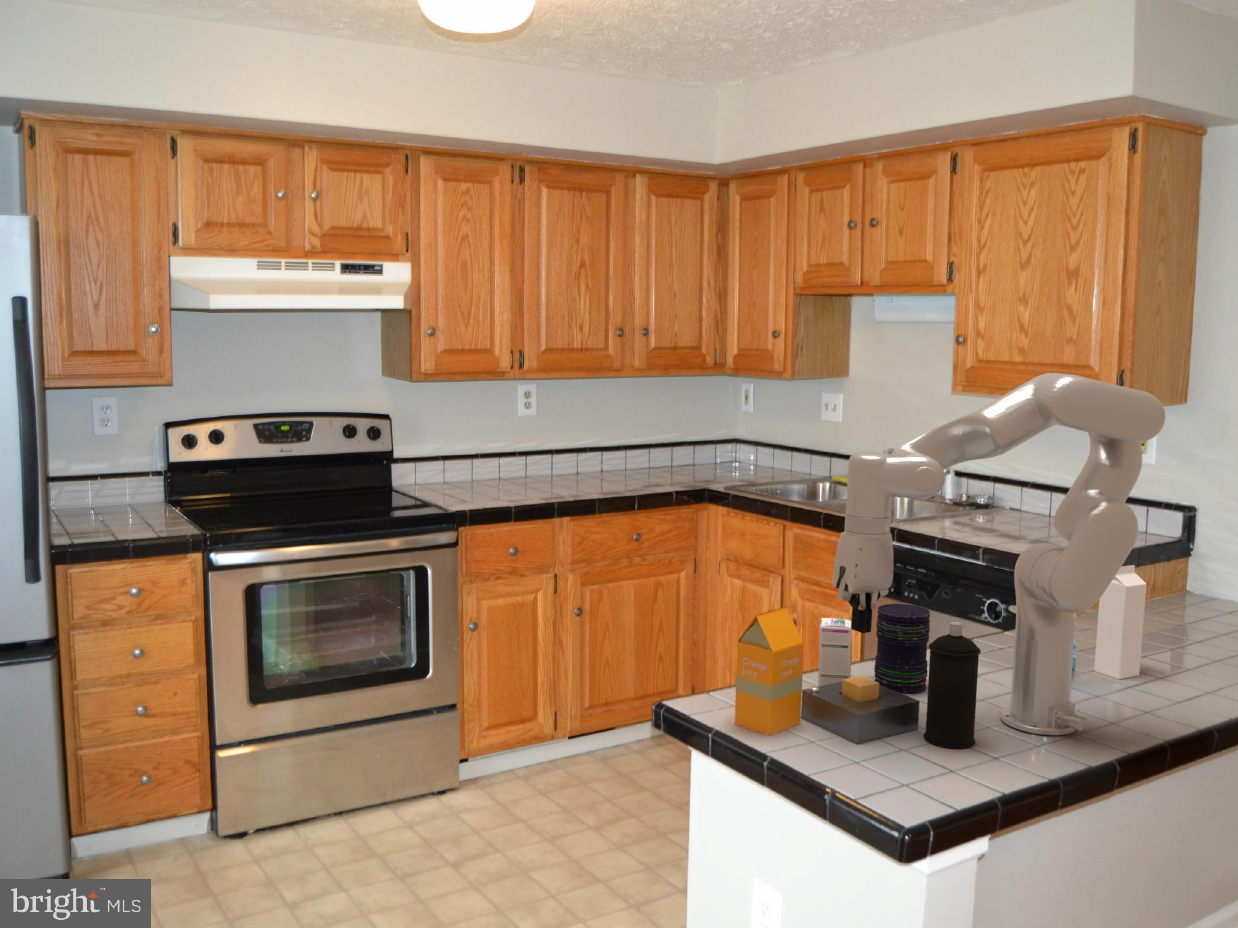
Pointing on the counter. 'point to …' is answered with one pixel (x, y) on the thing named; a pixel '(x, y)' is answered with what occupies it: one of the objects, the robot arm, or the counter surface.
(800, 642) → the orange juice
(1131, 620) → the milk
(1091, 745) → the counter surface
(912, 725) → the breaker box
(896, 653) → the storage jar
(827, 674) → the syrup box
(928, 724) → the aerosol can
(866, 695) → the button
